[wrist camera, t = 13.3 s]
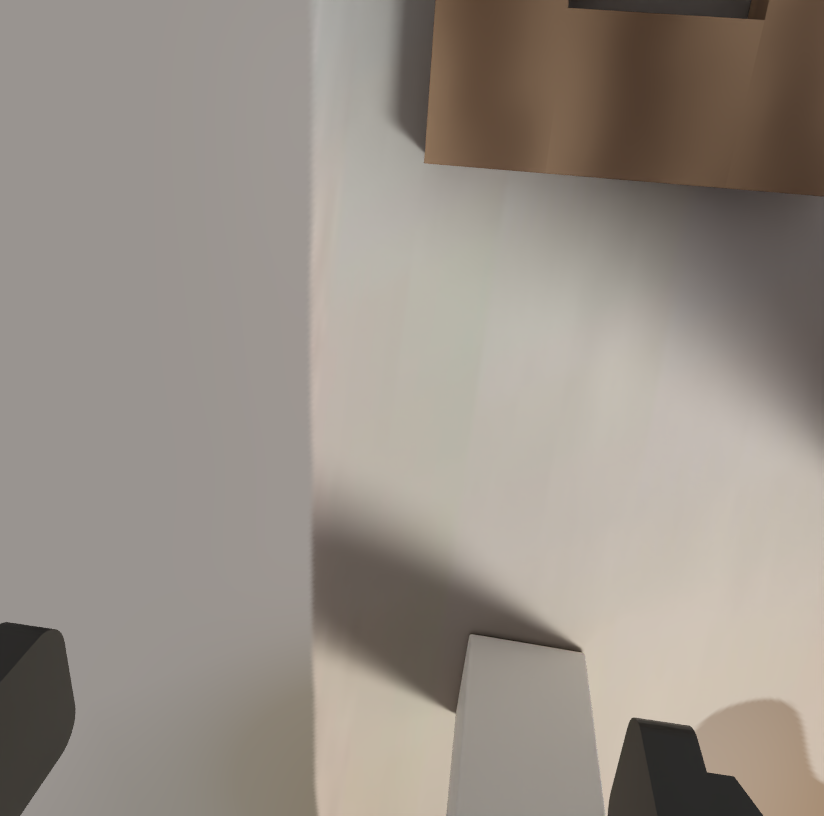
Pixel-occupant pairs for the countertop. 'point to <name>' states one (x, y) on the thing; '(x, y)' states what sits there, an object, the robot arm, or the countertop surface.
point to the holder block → (631, 93)
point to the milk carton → (524, 733)
